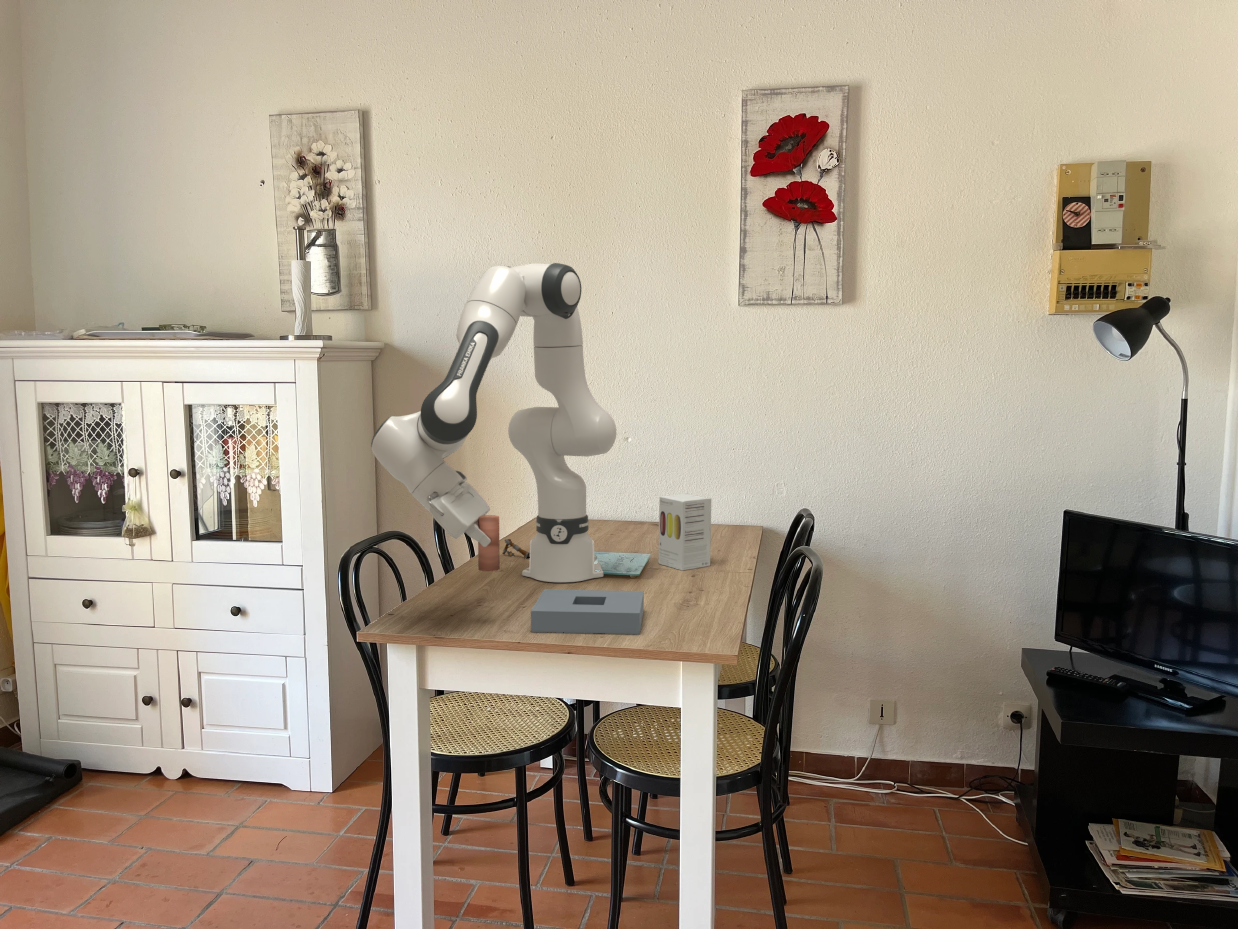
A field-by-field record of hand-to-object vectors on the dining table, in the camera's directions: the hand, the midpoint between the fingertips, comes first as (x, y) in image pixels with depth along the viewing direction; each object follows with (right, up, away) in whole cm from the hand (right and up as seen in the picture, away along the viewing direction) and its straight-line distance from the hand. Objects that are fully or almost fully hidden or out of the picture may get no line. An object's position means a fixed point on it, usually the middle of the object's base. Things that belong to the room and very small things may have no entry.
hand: (491, 541), depth 174 cm
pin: (-1, -5, +1) cm, 5 cm away
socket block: (+18, -16, +2) cm, 24 cm away
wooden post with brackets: (-2, -9, +60) cm, 60 cm away
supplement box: (+40, -10, +51) cm, 65 cm away
